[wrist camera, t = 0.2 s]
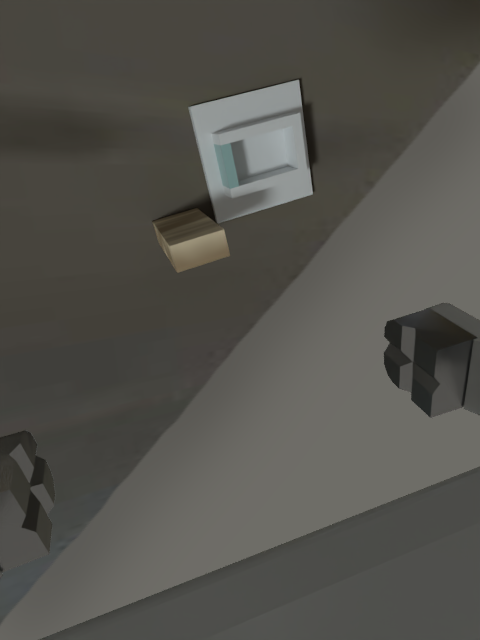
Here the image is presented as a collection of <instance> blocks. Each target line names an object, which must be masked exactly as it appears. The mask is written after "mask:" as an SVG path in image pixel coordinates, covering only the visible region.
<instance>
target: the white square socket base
mask: <svg viewBox="0 0 480 640" xmlns="http://www.w3.org/2000/svg"><path fill="white" fill-rule="evenodd" d="M188 108H189V112H190V116H191V120H192V124H193V129H194V133H195V137H196V141H197V145H198V149H199V153H200V158H201V162H202V166H203V170H204V174H205V178H206V183H207V187H208V191H209V195H210V199H211V203H212V208H213V212H214V216H215V220H216V223H221V222H224V221H227V220H230V219H234V218H237V217H240V216H243V215H247V214H250V213H253V212H256V211H260V210H263V209H266V208H269V207H273V206H276V205H279V204H282V203H286V202H289V201H292V200H295V199H299V198H302V197H305V196H308V195H312V194H313V191H312V183H311V174H310V166H309V158H308V150H307V142H306V133H305V125H304V117H303V109H302V101H301V92H300V84H299V80H295V81H291V82H287V83H283V84H279V85H275V86H271V87H267V88H263V89H259V90H255V91H251V92H247V93H243V94H239V95H235V96H231V97H227V98H223V99H219V100H215V101H211V102H206V103H202V104H198V105H194V106H190V107H188Z"/></svg>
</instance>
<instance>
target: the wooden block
mask: <svg viewBox="0 0 480 640" xmlns="http://www.w3.org/2000/svg"><path fill="white" fill-rule="evenodd" d="M152 222H153V225H154V228H155V232H156V235H157V238H158V241H159V244H160V245H161V247H162V249H163V250H164V252H165V254H166V255H167V257H168V258H169V260H170V262H171V263H172V265H173V266H174V268H175V270H176V271H177V273H178V272H181V271H184V270H187V269H190V268H194V267H197V266H200V265H203V264H206V263H209V262H212V261H215V260H218V259H221V258H224V257H227V256H230V253H229V249H228V245H227V240H226V236H225V232H224V229H223V228H222V227H220V226H219V225H218V224H217V223H215V222H214V221H213V220H212V219H210V218H209V217H208V216H207V215H205V214H204V213H203V212H201V211H200V210H199V209H198V208H195V209H192V210H188V211H185V212H182V213H178V214H175V215H171V216H168V217H165V218H161V219H158V220H155V221H152Z"/></svg>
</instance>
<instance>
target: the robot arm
mask: <svg viewBox="0 0 480 640" xmlns="http://www.w3.org/2000/svg"><path fill="white" fill-rule="evenodd" d="M384 337H385V338H386V339H387V340H388V341H389V342H390V344H389V345H388V347H387V349H386V350H385V352H384V365H385V368H386V371H387V374H388V376H389V377H390V379H391V380H392V382H393V383H394V384H395V385H396V386H397V387H398V388H399V389H402V390H406V391H409V392H411V400H412V401H413V402H414V403H415V404H416V405H417V406H418V407H420V408H421V409H422V410H423V411H424V412H425V413H426V414H427V415H428V416H429V417H434V416H437V415H440V414H443V413H446V412H449V411H452V410H456V409H458V408H462V407H464V409H465V410H468V411H470V412H473V413H475V414H478V415H480V320H478V319H476V318H474V317H473V316H471V315H469V314H467V313H466V312H464V311H462V310H460V309H458V308H457V307H455V306H453V305H451V304H448V303H441V304H439V305H435V306H432V307H429V308H426V309H424V310H422V311H419V312H416V313H412V314H409V315H406V316H403V317H400V318H397V319H393V320H390V321H387V324H386V326H385V335H384ZM37 445H38V444H37V443H36V441H35V439H34V437H33V436H32V434H31V433H30V432H28V431H26V430H25V431H21V432H18V433H14V434H11V435H7V436H4V437H0V579H1V577H2V576H3V574H2V572H5V571H7V570H10V569H12V568H15V567H18V566H20V565H23V564H25V563H28V562H31V561H33V560H36V559H38V558H41V557H43V556H46V555H49V553H50V544H51V534H52V525H53V524H52V522H51V520H50V519H49V517H48V515H47V514H48V513H49V512H50V510H51V509H52V508H53V506H54V504H55V487H54V479H53V476H52V473H51V470H50V468H49V466H48V464H47V462H46V460H44V459H42V458H40V457H38V456H36V451H37ZM39 640H480V467H477V468H475V469H472V470H470V471H467V472H464V473H462V474H459V475H457V476H454V477H452V478H450V479H447V480H444V481H442V482H439V483H437V484H434V485H431V486H429V487H426V488H424V489H421V490H419V491H416V492H414V493H411V494H408V495H406V496H403V497H401V498H398V499H396V500H393V501H391V502H388V503H386V504H383V505H380V506H378V507H375V508H373V509H370V510H368V511H365V512H363V513H360V514H358V515H355V516H352V517H350V518H347V519H345V520H342V521H340V522H337V523H335V524H332V525H330V526H327V527H324V528H322V529H319V530H317V531H314V532H312V533H309V534H307V535H304V536H302V537H299V538H296V539H294V540H292V541H289V542H286V543H284V544H281V545H279V546H277V547H274V548H271V549H269V550H266V551H263V552H261V553H258V554H256V555H253V556H251V557H248V558H246V559H243V560H241V561H238V562H235V563H233V564H230V565H228V566H225V567H223V568H220V569H218V570H215V571H212V572H210V573H208V574H205V575H203V576H200V577H197V578H195V579H192V580H190V581H187V582H184V583H182V584H179V585H177V586H174V587H172V588H169V589H167V590H164V591H162V592H159V593H157V594H154V595H152V596H149V597H146V598H144V599H141V600H139V601H136V602H134V603H131V604H129V605H126V606H123V607H121V608H118V609H116V610H113V611H111V612H109V613H106V614H104V615H101V616H98V617H96V618H93V619H90V620H88V621H85V622H83V623H80V624H78V625H75V626H73V627H70V628H67V629H65V630H62V631H60V632H57V633H55V634H52V635H50V636H47V637H45V638H42V639H39Z"/></svg>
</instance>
